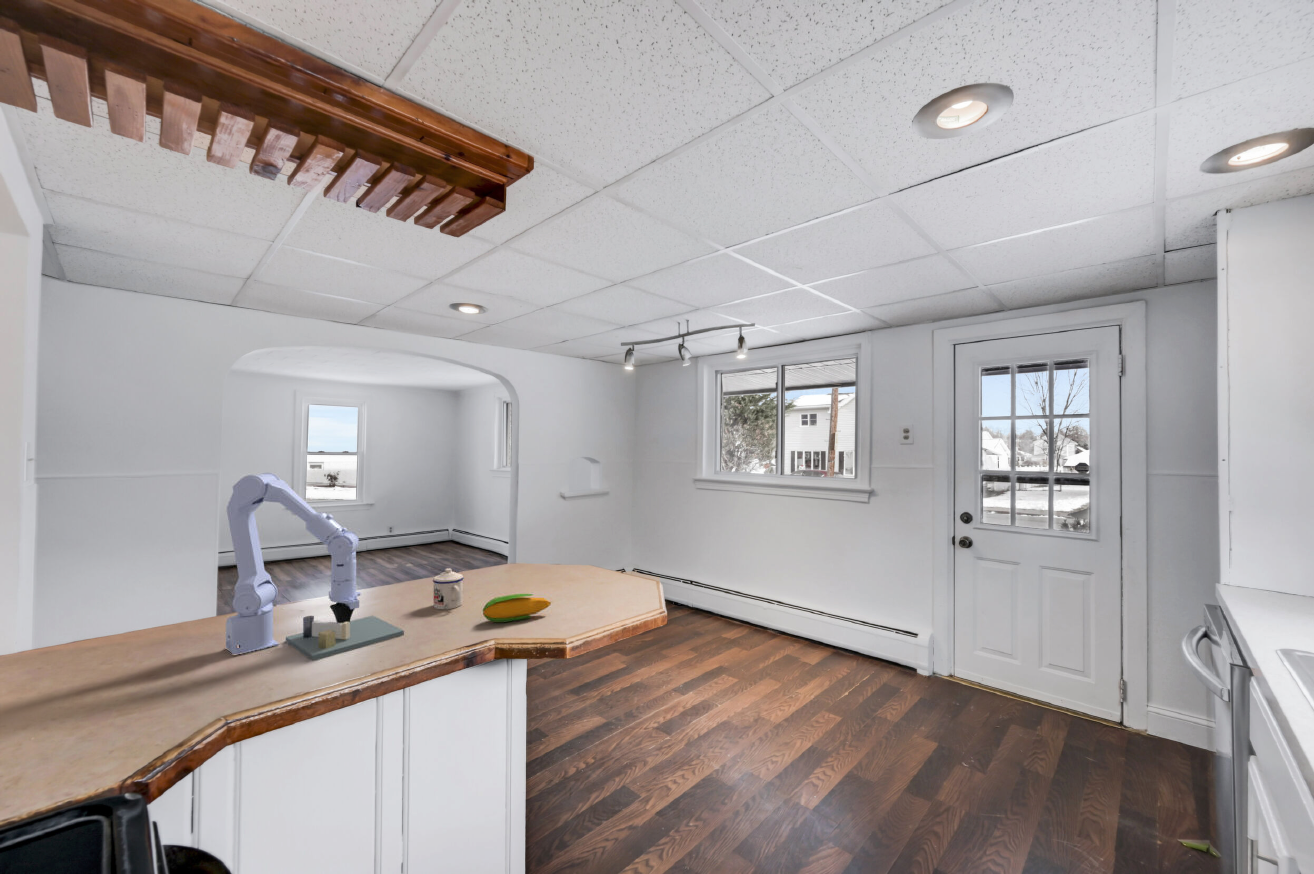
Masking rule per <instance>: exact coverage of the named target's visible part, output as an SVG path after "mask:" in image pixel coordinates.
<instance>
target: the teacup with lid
mask: <svg viewBox="0 0 1314 874" xmlns="http://www.w3.org/2000/svg"><path fill="white" fill-rule="evenodd" d="M463 580H464V576H463V574H461V573H457V572H455V571H452V568H445V569H444V572H441V573H440V574H439V575H436V576H434V577H433V579H432V582H433V608H434V609H436V610H451V609H452V610H453V609H456V608H459V607H461V606H462V605H463V603H464V601H463V593H464V592H463V590H464V589H463V583H464V582H463Z"/></svg>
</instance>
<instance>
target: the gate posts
mask: <svg viewBox="0 0 1314 874" xmlns="http://www.w3.org/2000/svg"><path fill="white" fill-rule="evenodd" d="M302 619H303V621H302V628H303V629H302V630H303V631H302V633H303V638H309V637H313V636H312V622H314V621H315V615H307V616H304V617H303V618H302ZM333 646H335V632H334V631H331V630H326V631H323V632H320V633H319V635H318V647H321V648H324V649H327V648H330V647H333Z"/></svg>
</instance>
